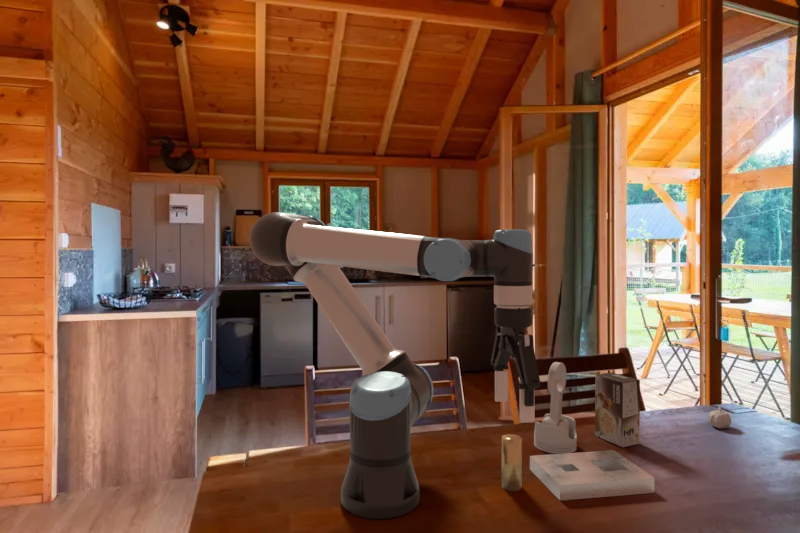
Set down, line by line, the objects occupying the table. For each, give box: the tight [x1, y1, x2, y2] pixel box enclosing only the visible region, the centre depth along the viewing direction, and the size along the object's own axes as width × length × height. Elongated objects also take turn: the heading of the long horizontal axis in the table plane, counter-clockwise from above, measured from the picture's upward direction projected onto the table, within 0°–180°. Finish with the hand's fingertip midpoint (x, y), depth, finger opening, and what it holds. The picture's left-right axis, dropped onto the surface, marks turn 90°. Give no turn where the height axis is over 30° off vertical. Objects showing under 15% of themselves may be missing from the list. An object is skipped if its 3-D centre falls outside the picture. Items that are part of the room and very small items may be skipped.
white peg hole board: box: [529, 449, 655, 501], centre depth 105 cm, size 20×14×3 cm
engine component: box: [533, 361, 578, 454], centre depth 124 cm, size 11×20×10 cm
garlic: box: [707, 406, 732, 430], centre depth 137 cm, size 6×5×5 cm
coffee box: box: [594, 372, 641, 448], centre depth 127 cm, size 9×6×16 cm
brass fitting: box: [501, 433, 523, 492], centre depth 102 cm, size 4×4×10 cm
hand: (513, 410), depth 102 cm, fingers open, 13 cm apart
